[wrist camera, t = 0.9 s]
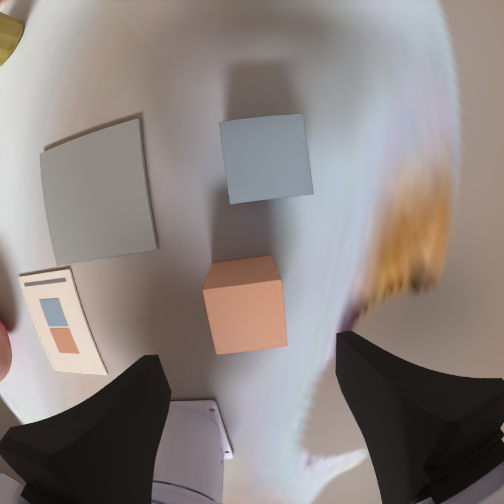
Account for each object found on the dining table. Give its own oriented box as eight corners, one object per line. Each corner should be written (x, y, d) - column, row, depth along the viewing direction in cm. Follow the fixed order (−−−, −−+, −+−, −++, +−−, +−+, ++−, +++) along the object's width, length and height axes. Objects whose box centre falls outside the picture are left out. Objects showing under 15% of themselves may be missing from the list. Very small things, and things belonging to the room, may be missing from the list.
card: (108, 373, 21) (107, 375, 21) (55, 369, 21) (54, 370, 21) (70, 268, 18) (68, 269, 18) (19, 276, 18) (17, 277, 18)
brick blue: (294, 191, 18) (313, 194, 13) (233, 199, 18) (229, 204, 13) (286, 132, 17) (302, 113, 12) (225, 138, 17) (219, 122, 12)
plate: (158, 248, 18) (156, 250, 18) (60, 263, 18) (57, 265, 18) (140, 119, 16) (138, 118, 16) (43, 153, 16) (39, 153, 16)
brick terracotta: (277, 308, 20) (287, 345, 15) (221, 315, 20) (216, 354, 15) (271, 254, 19) (281, 279, 14) (212, 262, 19) (202, 289, 14)
